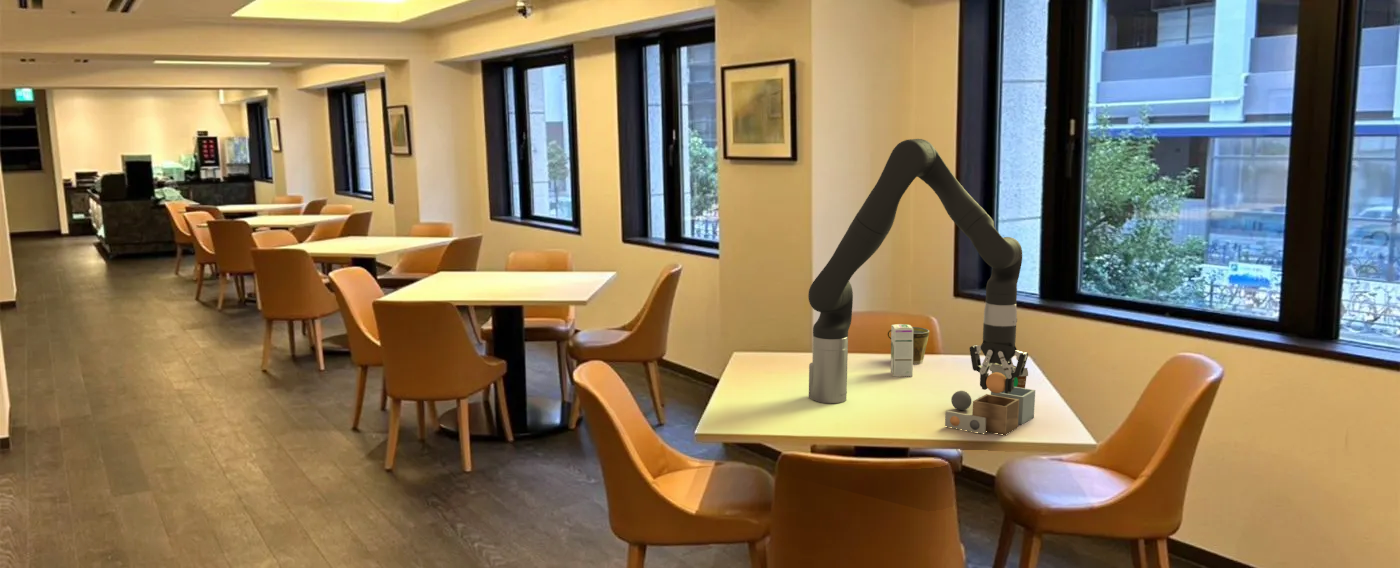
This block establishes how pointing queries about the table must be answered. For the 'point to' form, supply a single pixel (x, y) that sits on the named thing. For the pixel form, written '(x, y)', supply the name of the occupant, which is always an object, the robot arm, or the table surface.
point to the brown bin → (997, 413)
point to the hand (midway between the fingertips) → (996, 390)
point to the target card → (965, 422)
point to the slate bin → (1022, 402)
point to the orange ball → (996, 382)
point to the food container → (1018, 381)
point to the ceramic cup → (918, 343)
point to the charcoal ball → (961, 400)
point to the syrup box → (902, 350)
